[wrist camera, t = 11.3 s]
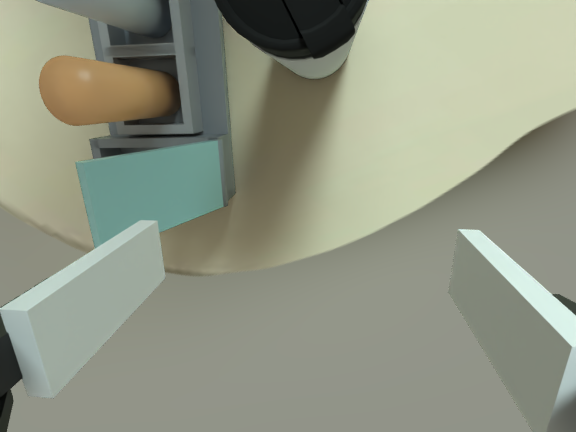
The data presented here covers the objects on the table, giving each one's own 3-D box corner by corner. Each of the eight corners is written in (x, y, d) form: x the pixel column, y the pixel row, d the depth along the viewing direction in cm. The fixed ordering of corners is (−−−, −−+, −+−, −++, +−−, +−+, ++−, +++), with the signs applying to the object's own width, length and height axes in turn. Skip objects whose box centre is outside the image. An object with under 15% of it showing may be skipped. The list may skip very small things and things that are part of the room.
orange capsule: (138, 72, 32) (31, 57, 20) (179, 70, 31) (93, 54, 20) (145, 116, 33) (48, 126, 22) (184, 116, 32) (107, 125, 21)
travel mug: (302, 96, 32) (260, 94, 13) (266, 26, 30) (158, -91, 11) (365, 58, 30) (422, -7, 11) (330, -17, 28) (328, -239, 10)
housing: (87, -27, 30) (50, -46, 26) (217, -38, 29) (199, -59, 25) (127, 192, 37) (102, 203, 33) (235, 193, 35) (223, 205, 31)
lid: (74, 161, 20) (84, 163, 19) (215, 139, 30) (224, 139, 29) (95, 252, 22) (104, 255, 21) (221, 203, 32) (230, 204, 31)
